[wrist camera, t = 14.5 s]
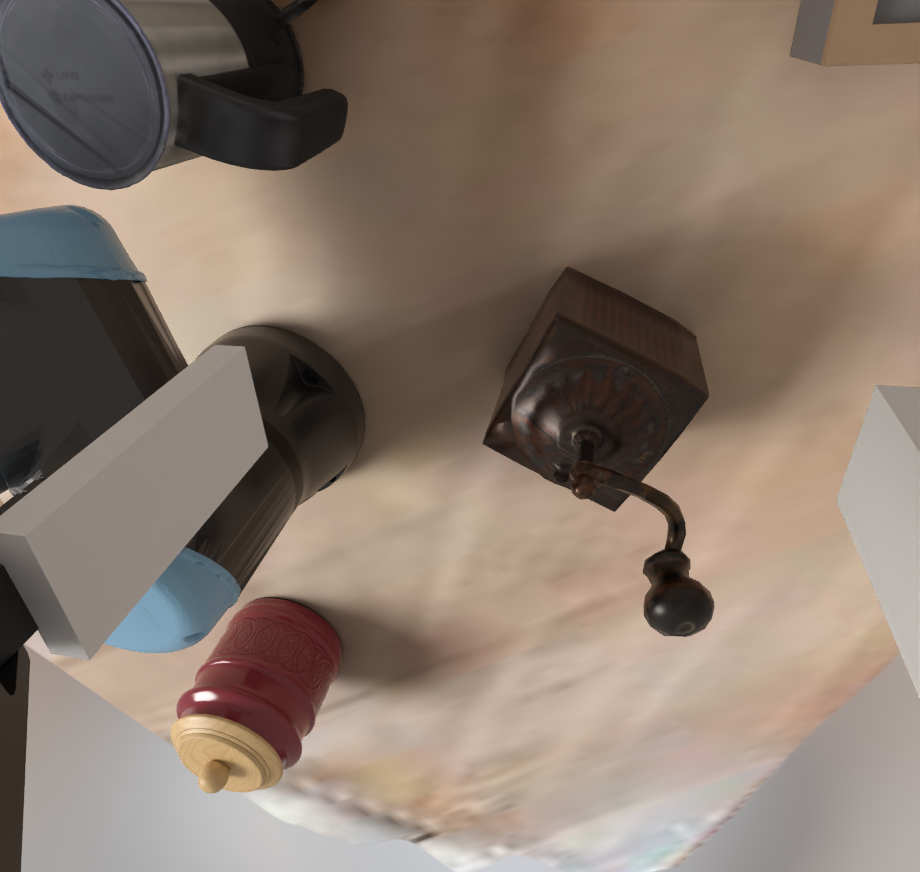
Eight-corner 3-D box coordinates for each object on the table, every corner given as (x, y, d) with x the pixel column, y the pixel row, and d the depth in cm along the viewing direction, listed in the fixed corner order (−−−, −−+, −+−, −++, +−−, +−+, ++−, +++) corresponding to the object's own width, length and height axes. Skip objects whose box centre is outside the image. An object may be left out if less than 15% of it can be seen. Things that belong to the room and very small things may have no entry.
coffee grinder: (495, 386, 50) (439, 540, 36) (565, 260, 44) (532, 386, 29) (671, 475, 51) (687, 663, 36) (765, 365, 45) (830, 538, 30)
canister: (276, 577, 68) (180, 729, 54) (368, 649, 71) (301, 811, 57) (216, 623, 75) (116, 770, 60) (302, 688, 78) (227, 842, 64)
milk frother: (187, 140, 45) (25, 188, 33) (122, -164, 37) (-129, -251, 25) (383, 147, 43) (285, 201, 31) (363, -179, 34) (215, -284, 22)
